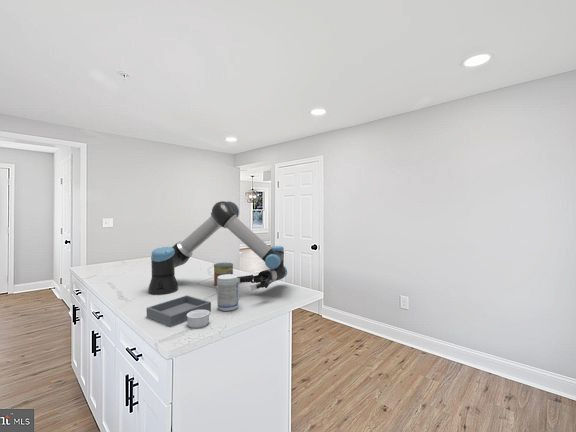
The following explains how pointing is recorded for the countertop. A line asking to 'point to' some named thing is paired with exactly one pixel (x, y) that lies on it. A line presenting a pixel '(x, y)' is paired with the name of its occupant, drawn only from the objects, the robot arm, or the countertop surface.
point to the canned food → (222, 270)
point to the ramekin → (198, 318)
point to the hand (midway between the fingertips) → (240, 285)
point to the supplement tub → (227, 292)
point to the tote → (176, 309)
